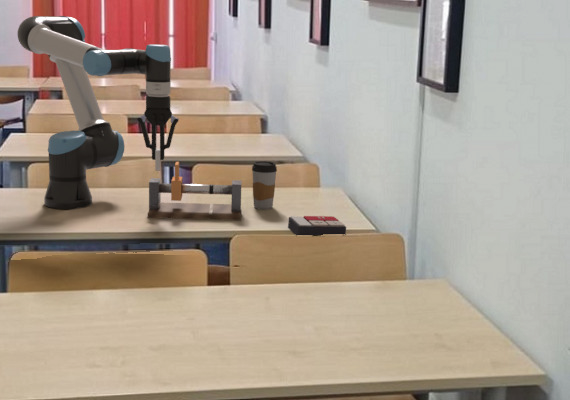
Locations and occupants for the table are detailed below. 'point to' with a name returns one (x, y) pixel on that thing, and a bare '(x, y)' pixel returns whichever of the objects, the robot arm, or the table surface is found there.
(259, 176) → the coffee cup
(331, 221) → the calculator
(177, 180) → the orange slotted block
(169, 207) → the base board
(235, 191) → the pipe
